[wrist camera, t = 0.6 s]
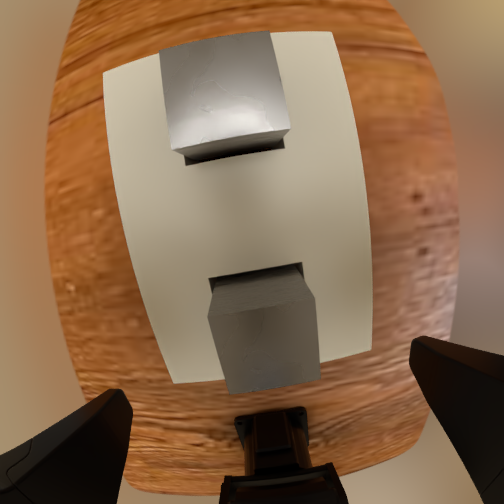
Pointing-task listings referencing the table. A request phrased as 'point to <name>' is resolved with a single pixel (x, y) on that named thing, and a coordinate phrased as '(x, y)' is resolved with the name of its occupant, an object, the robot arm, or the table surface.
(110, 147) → the bore block
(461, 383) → the robot arm
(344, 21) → the table surface
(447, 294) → the table surface
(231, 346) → the peg
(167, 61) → the peg
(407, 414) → the table surface
